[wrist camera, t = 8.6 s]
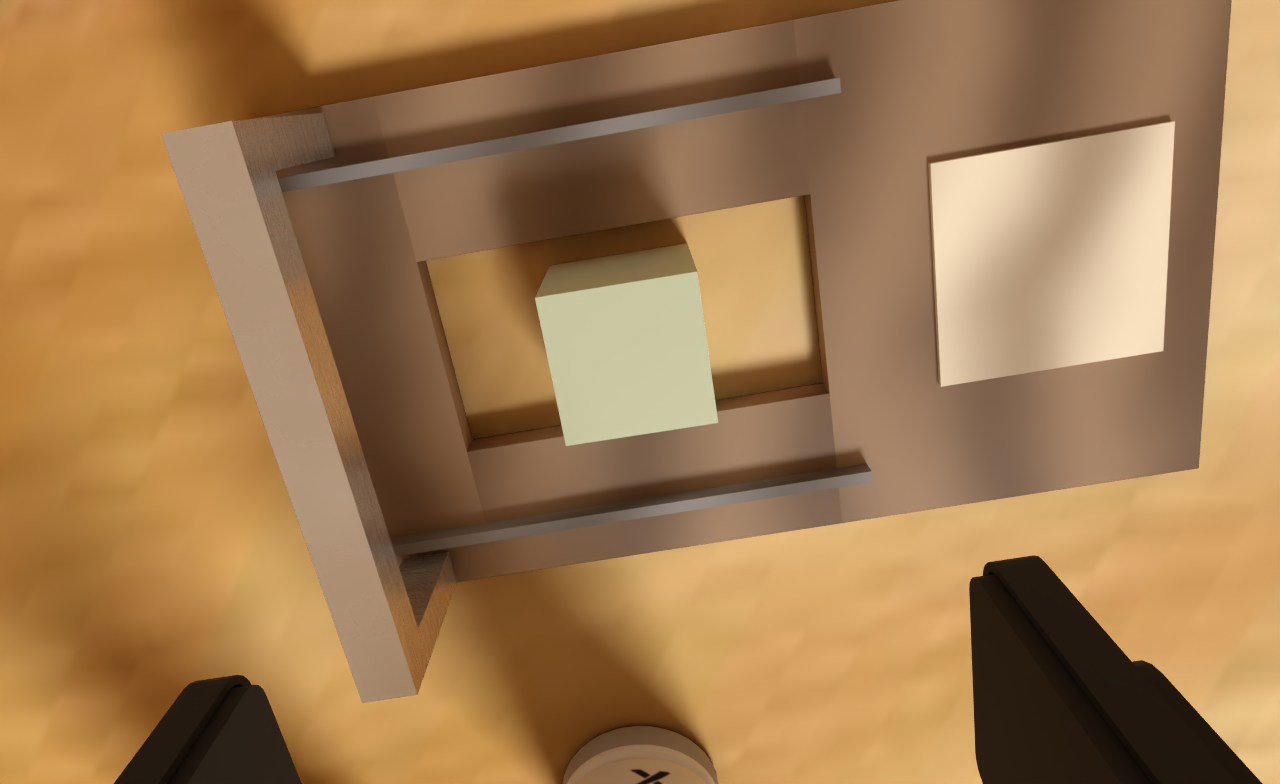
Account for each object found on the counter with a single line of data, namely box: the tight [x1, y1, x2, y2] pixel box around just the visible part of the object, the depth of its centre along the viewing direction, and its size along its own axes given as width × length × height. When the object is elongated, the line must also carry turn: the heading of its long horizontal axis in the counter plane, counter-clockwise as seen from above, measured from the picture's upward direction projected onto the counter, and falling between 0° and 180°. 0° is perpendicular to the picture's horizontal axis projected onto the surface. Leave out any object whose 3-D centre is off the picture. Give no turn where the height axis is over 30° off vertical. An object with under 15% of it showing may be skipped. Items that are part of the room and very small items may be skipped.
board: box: [253, 0, 1231, 582], centre depth 26 cm, size 28×16×2 cm, turn 100°
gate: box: [161, 113, 457, 703], centre depth 23 cm, size 2×16×6 cm, turn 9°
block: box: [535, 243, 718, 446], centre depth 25 cm, size 4×4×4 cm
